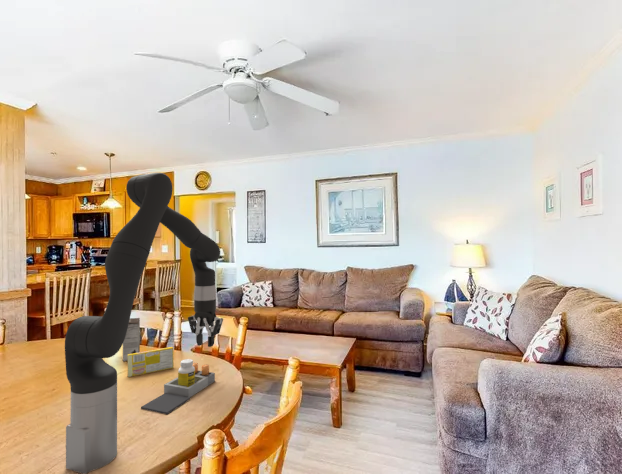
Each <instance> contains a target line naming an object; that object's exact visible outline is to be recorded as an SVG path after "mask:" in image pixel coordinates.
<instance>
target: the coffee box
mask: <svg viewBox="0 0 622 474" xmlns="http://www.w3.org/2000/svg"><path fill="white" fill-rule="evenodd" d="M140 323H141V322H140V317H136V318H131V317H130V320H129V325H128V329H127V333H126V336H125V339H124V342H123V344H122V361H123V362H128V358H127V355H128V354H133V353H139V352H141V351H140V350H141V349H140V347H141V345H140V343H141V342H140V341H141V339H140V333H141V332H140V329H141V326H140Z"/></svg>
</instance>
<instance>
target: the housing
mask: <svg viewBox="0 0 622 474" xmlns="http://www.w3.org/2000/svg"><path fill="white" fill-rule="evenodd" d="M215 379H216V373H215V372H210V371H209V375H205V376H203V375H202V370H199V369H198V373H195V383H194V384H193V385H191V386H189V387H184V386H178V376H177V377H175V378H174V379H171V380H170V381H169V382H166V383H165V384H163V394H164V393H168V394H174V395H179V396H185V397H190V398H192V397H193V396H194V395H196V394H197V393H199V392H201V391H202V390H204V389H205V388H206V387H209V386H210V385H211V384H213V383H214V382H216V381H215Z"/></svg>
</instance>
